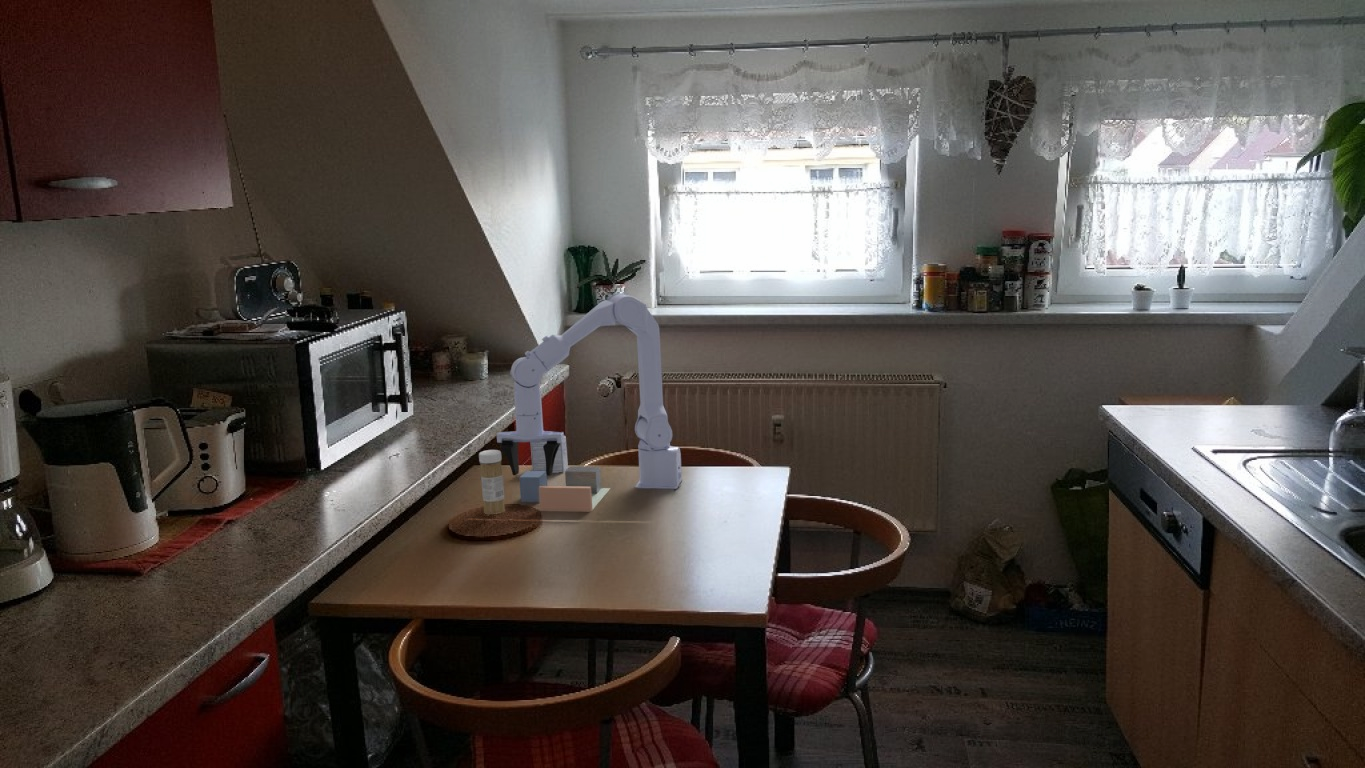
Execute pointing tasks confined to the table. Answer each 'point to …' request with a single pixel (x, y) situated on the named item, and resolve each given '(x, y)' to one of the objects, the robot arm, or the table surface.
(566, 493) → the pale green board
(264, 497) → the table surface
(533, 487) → the slate blue carton
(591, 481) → the grey toy block
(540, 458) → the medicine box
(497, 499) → the sprinkles bottle
